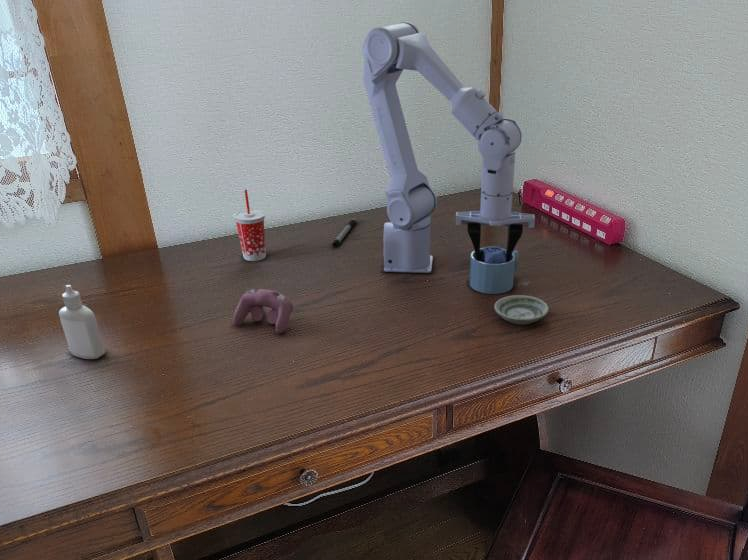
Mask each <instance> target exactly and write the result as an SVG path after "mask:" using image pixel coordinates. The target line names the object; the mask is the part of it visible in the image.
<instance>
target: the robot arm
mask: <svg viewBox="0 0 748 560" xmlns="http://www.w3.org/2000/svg"><path fill="white" fill-rule="evenodd" d="M361 51H362V54H363V58H364V66H363V84H364V87H365V92H366V96H367V98H368V102H369V106H370V110H371V114H372V117H373V120H374V124H375V127H376V131H377V134H378V138H379V142H380V145H381V149H382V153H383V156H384V160H385V163H386V166H387V170H388V174H389V182H388V184H387V187H386V190H385V196H386V201H387V202H386V203H387V204H386V214H387V217H388V219H389V222H388V221H386V222H384V225H383V236H382V237H383V239H382V240H383V253H382V257H383V272H385V273H412V274H413V273H414V274H418V273H419V274H431V273H432V269H433V260H434V259H433V258H434V256H433V255H431V220H432V214H433V213H434V212H435V210H436V209H437V205H438V198H437V194H436V193H435V191H434V189H433V188H432V187H431V185H430V183H429V180H428V176H427V175H425V174H424V173H423V172H421V171H420V170H419V169H418V165H417V162H416V157H415V153H414V150H413V146H412V141H411V139H410V135H409V129H408V127H407V123H406V119H405V115H404V111H403V108H402V104H401V101H400V97H399V93H398V89H397V82H398V81H399V79H400V77H401V75H402V74H403V72H404V70H407V71H414V72H415V71H416V72H418V73H419V74H420V75H421V76H422V77H423V78H424V79H426V80H427V82H429V83H430V84H431V85H432V86H433V87H434V88H435V89H436V90H437V91H439V93H440V94H441V95H442V96H443V97H444V98H446V99H447V100H448V101H449V102H450V112H451V115H453V117H455V118H456V120H457V121H458V122H459V123H460V124H461V125H462V126H463V127H464V128H465V129H466V130H467V131H468V133H470V135H472V137H474V139H475V140H476V141H477V142H476V143H477V148H478V152H479V153H480V155H481V156H482V157H481V158H482V166H481V168H482V169H481V186H480V203H479V205H480V206H479V207H480V208H479V210H470V211H456V212H455V226H458V227H459V226H461V227H462V226H463V225H467V234H468V237H469V239H470V241H471V243H472V247H473V249H474V250H475V254H476V260H478V261H480V248H481V237H482V235H481V234H482V231H481V230H482V226H491V227H503V226H504V227H507V243H506V248H505V249H506V262H509V261H510V258H511V255H512V252H513V251H515V247H516V245H517V244H518V242H519V240H520V239H521V238H522V235H523V233H524V230H523V227H527V228H528V229H534V228H535V222H536V215H535V214H533V213H524V212H523V213H522V212H517V211H512V205H513V194H514V193H513V192H514V179H515V163H516V152H515V151H516V150H517V149H518V148H519V147H520V145H521V143H522V135H523V134H522V131H521V128H520V127H519V124H518V123H517V122H516V120H514V119H513V118H511V117H510V118H509V117H505V116H504V114H503V113H502V112H499V111H497V109H495V107H494V106H492V104H491V103H490V102H489V101H488V100H487V99H486V98H485V97H486V93H485V92H484V91H483V89H479V90H478V89H477V88H476V87H466V86H464V85H463V83H462V82H461V81H460V80H459V79H458V78H457V76H456V75H455V74H454V72H453V71H452V70H451V69H450V68H449V67H448V65H447V64H446V63H445V62H444V61H443V60H442V58H441V57H440V56H439V55H438V54H437V52H436V51H435V50H434V48H433V47H432V45H431V44H430V42H429V39H428V37H427V36H426V35H425V34H424V33H422V32H421V31H420V30H419V29H418V27H417V26H416V25H415V24H414V23H412V22H410V21H401V22H399V23H396V24H391V25H387V26H386V25H385V26H377V27H374V28H372V29H370V31H369V32H368V34H367V35H366V38H365V39H364V41H363V43H362V45H361ZM474 250H473V251H474Z"/></svg>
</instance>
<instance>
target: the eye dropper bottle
mask: <svg viewBox="0 0 748 560" xmlns="http://www.w3.org/2000/svg"><path fill="white" fill-rule="evenodd" d="M80 294H81V293H80V292H79V291H77V290H74V288H73V286H72V285H71V284H66V285H65V292H64V293H62V295H61V297H62V300H63V304H64V306H63V307H62V308H60V310H59V311H58V316H59V320H60V323H61V327H62V329H63V333H64V336H65V339H66V343H67V345H68V349H69V352H70V354H72V355H73V356H74V357H75V358H76V357H77V358H80V359H84V360H96V359H99V358H100V357H102V356H104V355H105V354H106V350H105V346H104V343H103V339H102V336H101V332H100V328H99V325H98V321H97V319H96V316H95V313H94V311H92V310H91V309H90V308H89V307H87V306H86V305H83V300H82V298H81V295H80Z"/></svg>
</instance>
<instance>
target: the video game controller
mask: <svg viewBox="0 0 748 560" xmlns="http://www.w3.org/2000/svg"><path fill="white" fill-rule="evenodd" d="M264 307H266V308H269V309H270V310H269V312H267V313H266V310H265V308H264ZM293 310H294V303H293V301H292V300H291V298H289V297H287V296H285V295H284V294H282V293H281V292H278V291H276V290H273V289H267V288H257V289H253V288H252V289H250V290H246V291H245V293H243V294H242V296H241V297H240V300H239V301H238V304H237V306H236V308H235V311H234V313H233V318H232V321H233V324H234V325H235V326H240V325H241V324H242V323H243V322H244V321H245V320H246V318H247V317H248V315H249V313H250V315H251V319H253V321H255V322H262V321H264V320H265V318H267V322H268V323H270V325H271V324H272V325H275V331H276V333H277V334H279V335H281V334H282V333H284V331H285V330H286V329H287V327H288V325H289V322H290V318H291V314H292V312H293Z"/></svg>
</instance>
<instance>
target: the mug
mask: <svg viewBox="0 0 748 560" xmlns="http://www.w3.org/2000/svg"><path fill="white" fill-rule="evenodd" d="M484 248H485V247H480V253H481V251H482V250H483V249H484ZM501 248H502V247H501ZM502 249H503V250H504V251H505V255H506V248H502ZM519 253H520V252H519V250H517V249H514V250H513V252H512V255H511V258H510V261H509V262H506V263H501V264H489V263H483V262H480V261H478V260H476V254H475V250H472V252H470V256H469V257H470V258H469V259H470V260H469V286H470V287H471V289H472V290H474V291H476V292H478V293H481V294H487V295H500V294H504V293H507V292H509V291H511V290H512V289H513V287H514V283H515V282H514V281H515V272H516V271H518V265H519Z"/></svg>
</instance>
